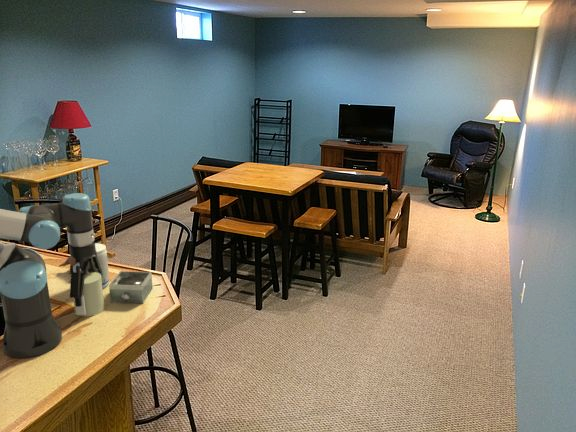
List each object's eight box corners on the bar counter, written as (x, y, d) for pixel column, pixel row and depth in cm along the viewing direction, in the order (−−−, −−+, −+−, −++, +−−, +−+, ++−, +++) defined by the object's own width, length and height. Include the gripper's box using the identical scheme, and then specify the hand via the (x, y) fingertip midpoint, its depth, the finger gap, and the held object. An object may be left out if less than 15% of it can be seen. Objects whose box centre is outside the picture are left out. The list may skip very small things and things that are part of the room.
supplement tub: (83, 293, 166) (78, 255, 161) (79, 283, 174) (74, 245, 169) (112, 287, 171) (108, 249, 166) (106, 277, 178) (103, 241, 174)
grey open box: (141, 305, 159) (140, 288, 157) (109, 304, 159) (107, 286, 157) (152, 288, 171) (151, 272, 169) (122, 287, 171) (120, 271, 169)
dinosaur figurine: (99, 270, 184) (97, 248, 182) (91, 276, 179) (88, 253, 176) (67, 266, 187) (64, 244, 184) (58, 273, 181) (54, 250, 178)
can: (109, 303, 160) (106, 271, 156) (96, 317, 151) (92, 283, 147) (83, 301, 161) (79, 269, 157) (68, 315, 152) (64, 281, 148)
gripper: (76, 258, 137) (85, 324, 144) (108, 229, 160) (114, 288, 167) (51, 257, 137) (60, 323, 144) (86, 229, 160) (92, 287, 167)
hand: (89, 304), depth 155 cm, fingers open, 11 cm apart
